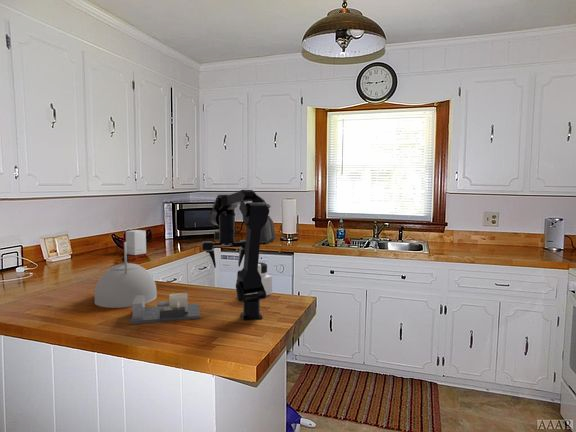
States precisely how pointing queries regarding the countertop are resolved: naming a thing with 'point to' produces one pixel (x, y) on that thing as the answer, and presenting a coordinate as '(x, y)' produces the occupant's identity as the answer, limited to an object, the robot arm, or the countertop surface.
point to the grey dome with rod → (124, 285)
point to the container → (264, 278)
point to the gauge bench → (156, 314)
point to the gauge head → (176, 301)
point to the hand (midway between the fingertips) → (227, 267)
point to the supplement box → (136, 242)
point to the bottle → (268, 231)
